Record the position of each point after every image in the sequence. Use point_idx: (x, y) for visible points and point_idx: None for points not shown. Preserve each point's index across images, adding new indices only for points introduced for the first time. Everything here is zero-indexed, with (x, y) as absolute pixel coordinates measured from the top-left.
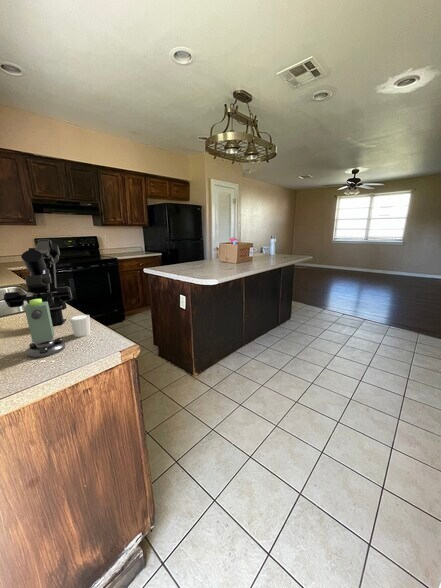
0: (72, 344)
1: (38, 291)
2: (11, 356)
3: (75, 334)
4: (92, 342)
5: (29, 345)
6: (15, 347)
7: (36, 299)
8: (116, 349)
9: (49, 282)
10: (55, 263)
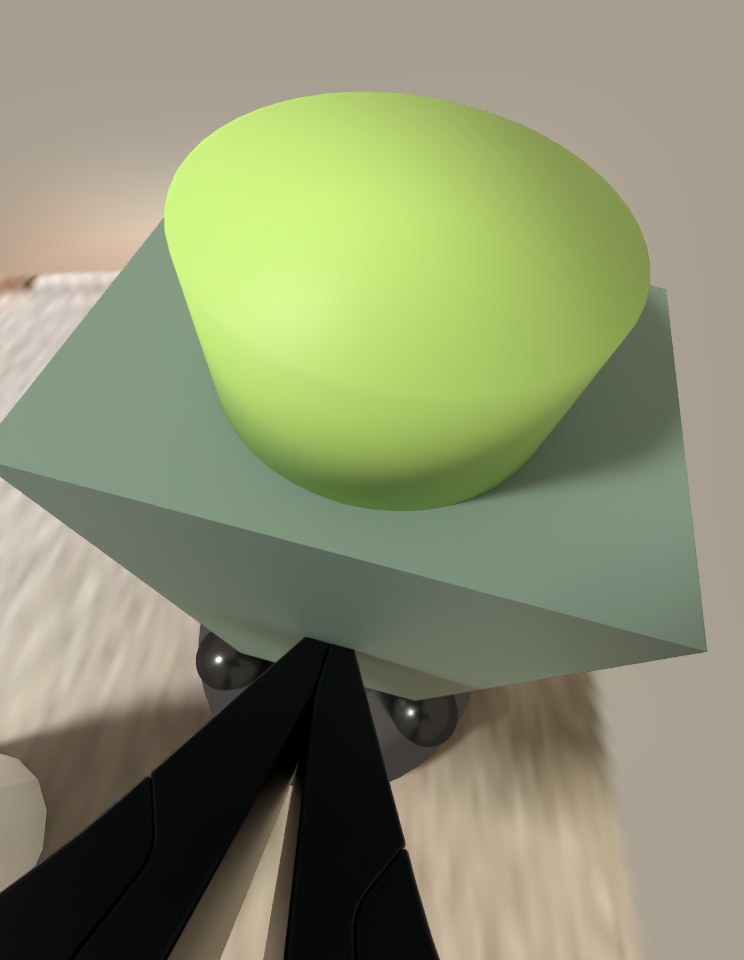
0: (161, 602)
1: None
2: (563, 704)
3: (31, 811)
4: (41, 525)
5: (454, 699)
6: (564, 956)
7: (364, 288)
8: (23, 317)
9: None
10: None
